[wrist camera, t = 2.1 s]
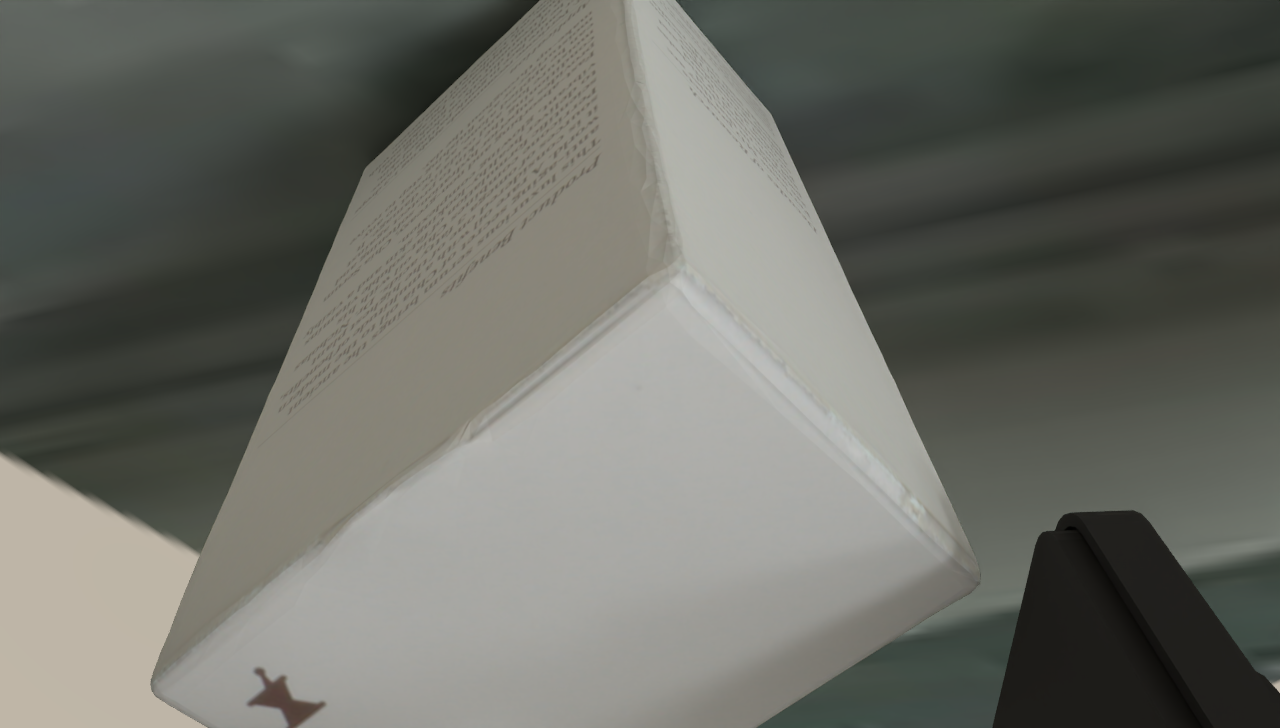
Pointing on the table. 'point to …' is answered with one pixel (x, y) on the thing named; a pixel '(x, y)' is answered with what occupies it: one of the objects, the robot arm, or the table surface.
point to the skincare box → (570, 424)
